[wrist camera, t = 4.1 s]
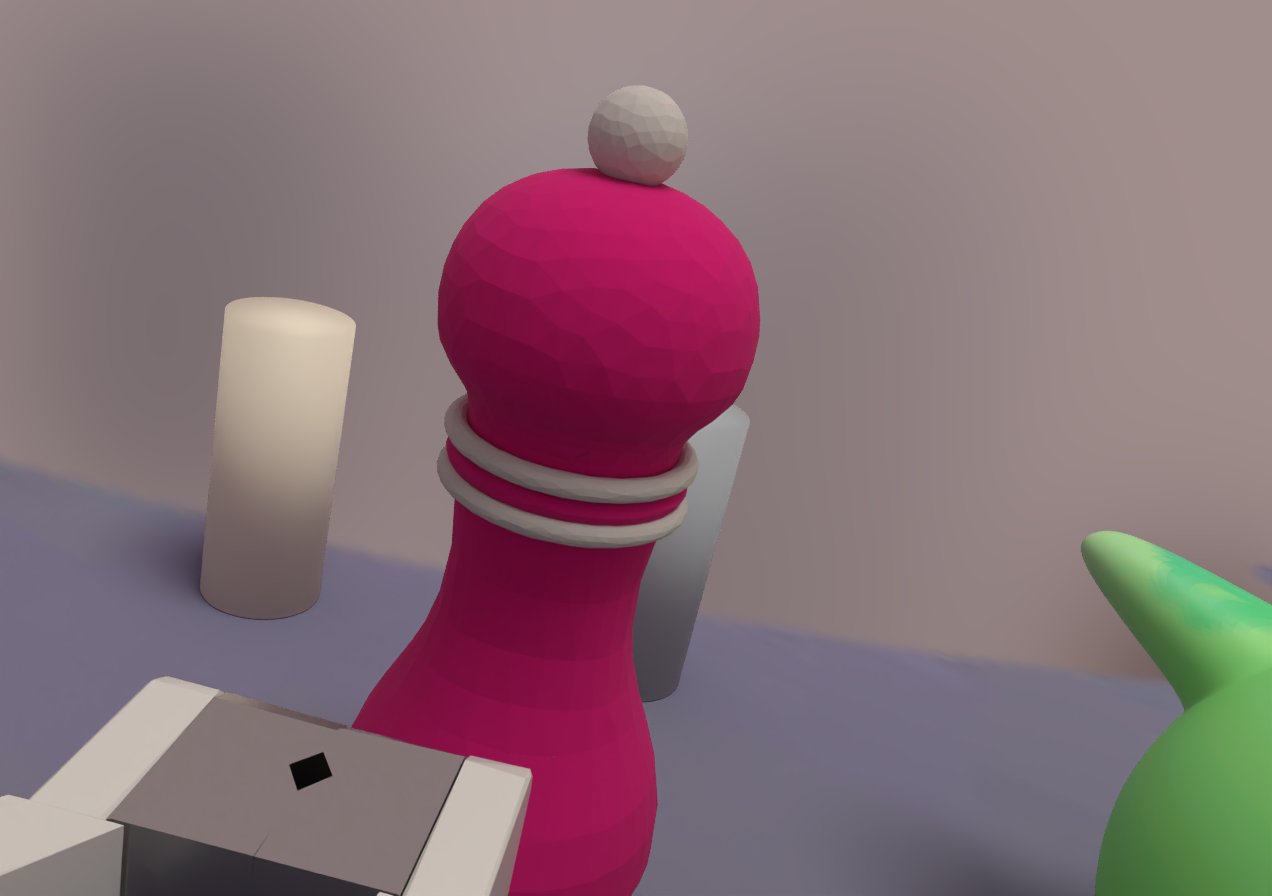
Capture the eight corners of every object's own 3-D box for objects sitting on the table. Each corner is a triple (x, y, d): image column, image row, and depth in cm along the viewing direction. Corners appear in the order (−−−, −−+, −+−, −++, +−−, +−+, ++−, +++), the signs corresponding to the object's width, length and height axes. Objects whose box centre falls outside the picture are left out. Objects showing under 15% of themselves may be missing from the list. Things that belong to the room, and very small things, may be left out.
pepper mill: (355, 819, 30) (479, 37, 23) (620, 873, 30) (825, 118, 23) (258, 1052, 23) (394, 41, 16) (602, 1119, 23) (884, 155, 16)
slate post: (558, 683, 38) (620, 410, 34) (578, 626, 41) (636, 374, 38) (673, 713, 37) (747, 442, 34) (683, 653, 41) (751, 403, 38)
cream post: (177, 600, 37) (201, 315, 34) (232, 550, 41) (259, 289, 37) (292, 630, 37) (327, 347, 34) (336, 577, 41) (373, 317, 37)
